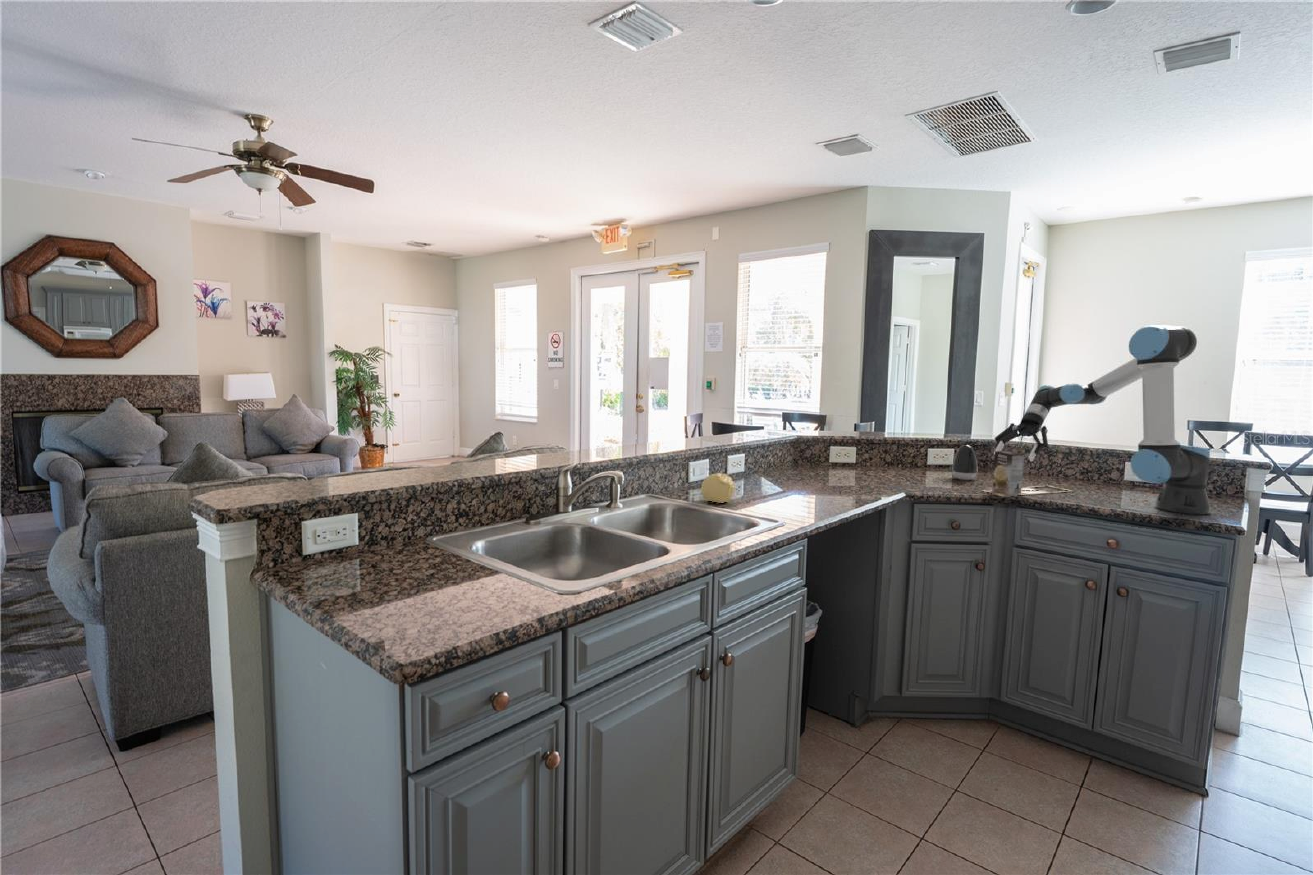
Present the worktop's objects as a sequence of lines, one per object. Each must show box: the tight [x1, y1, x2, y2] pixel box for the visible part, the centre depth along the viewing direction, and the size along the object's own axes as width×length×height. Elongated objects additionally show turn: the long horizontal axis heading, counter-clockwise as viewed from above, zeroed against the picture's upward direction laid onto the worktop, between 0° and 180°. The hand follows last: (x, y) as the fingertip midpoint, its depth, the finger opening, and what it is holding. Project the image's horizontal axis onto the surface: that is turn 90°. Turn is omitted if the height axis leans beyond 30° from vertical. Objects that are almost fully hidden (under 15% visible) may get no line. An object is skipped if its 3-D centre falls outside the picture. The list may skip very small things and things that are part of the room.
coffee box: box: [991, 450, 1025, 495], centre depth 257 cm, size 9×6×16 cm
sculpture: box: [700, 472, 736, 503], centre depth 236 cm, size 12×12×11 cm
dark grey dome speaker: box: [951, 444, 979, 481], centre depth 287 cm, size 10×10×15 cm
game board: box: [981, 485, 1074, 498], centre depth 261 cm, size 12×35×1 cm, turn 109°
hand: (1012, 457), depth 259 cm, fingers open, 13 cm apart
